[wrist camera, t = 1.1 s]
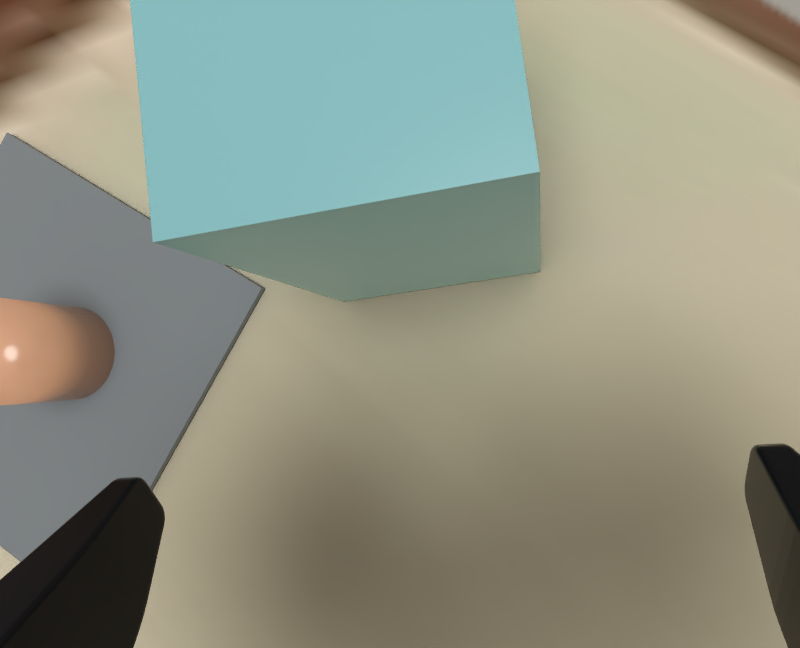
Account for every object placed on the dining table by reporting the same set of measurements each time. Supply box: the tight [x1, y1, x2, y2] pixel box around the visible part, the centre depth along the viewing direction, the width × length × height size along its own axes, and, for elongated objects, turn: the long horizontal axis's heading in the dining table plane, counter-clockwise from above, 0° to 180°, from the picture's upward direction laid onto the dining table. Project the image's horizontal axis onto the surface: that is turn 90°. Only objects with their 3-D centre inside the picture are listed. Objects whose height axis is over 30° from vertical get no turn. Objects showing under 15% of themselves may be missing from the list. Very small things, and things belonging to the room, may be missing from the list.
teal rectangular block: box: [130, 0, 540, 302], centre depth 18 cm, size 7×7×12 cm
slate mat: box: [0, 133, 265, 562], centre depth 26 cm, size 14×13×1 cm
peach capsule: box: [0, 298, 115, 406], centre depth 24 cm, size 4×4×4 cm
